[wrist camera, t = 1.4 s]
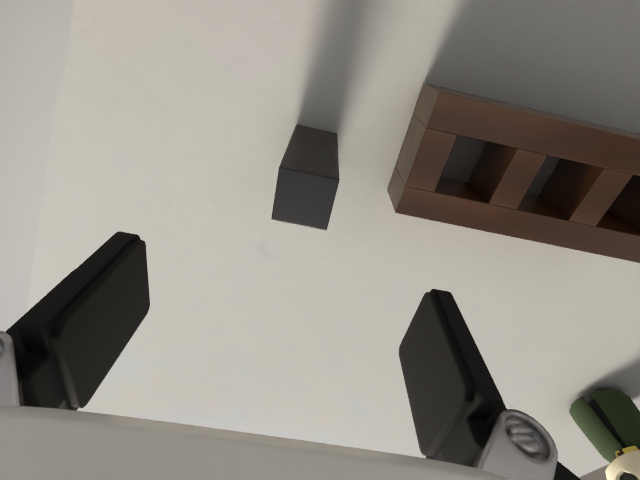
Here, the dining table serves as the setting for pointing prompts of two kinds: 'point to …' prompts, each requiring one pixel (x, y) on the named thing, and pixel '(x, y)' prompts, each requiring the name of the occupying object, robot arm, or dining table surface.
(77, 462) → the robot arm
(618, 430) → the character mug
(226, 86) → the dining table surface
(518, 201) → the holder
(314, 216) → the peg
